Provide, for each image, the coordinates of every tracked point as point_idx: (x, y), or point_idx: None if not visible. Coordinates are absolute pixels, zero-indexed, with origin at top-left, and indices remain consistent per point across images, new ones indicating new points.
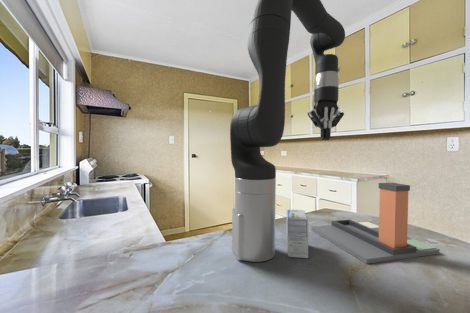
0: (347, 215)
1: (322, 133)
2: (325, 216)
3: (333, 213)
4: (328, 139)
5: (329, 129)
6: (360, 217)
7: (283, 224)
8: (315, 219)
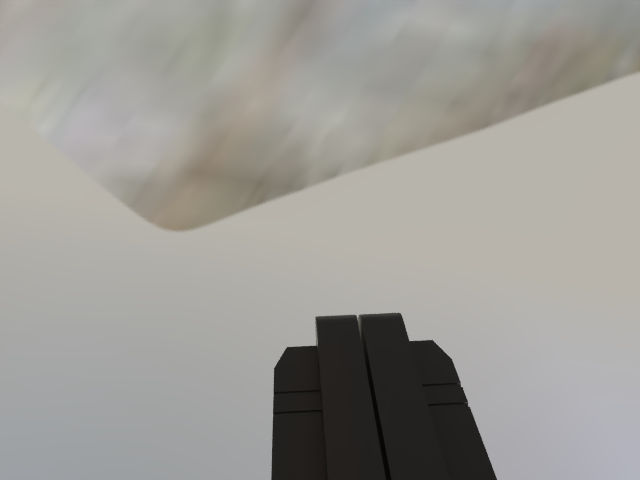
0: (120, 95)
1: (466, 425)
2: (265, 102)
3: (182, 147)
4: (329, 316)
5: (330, 472)
6: (61, 44)
7: (579, 13)
8: (356, 61)
